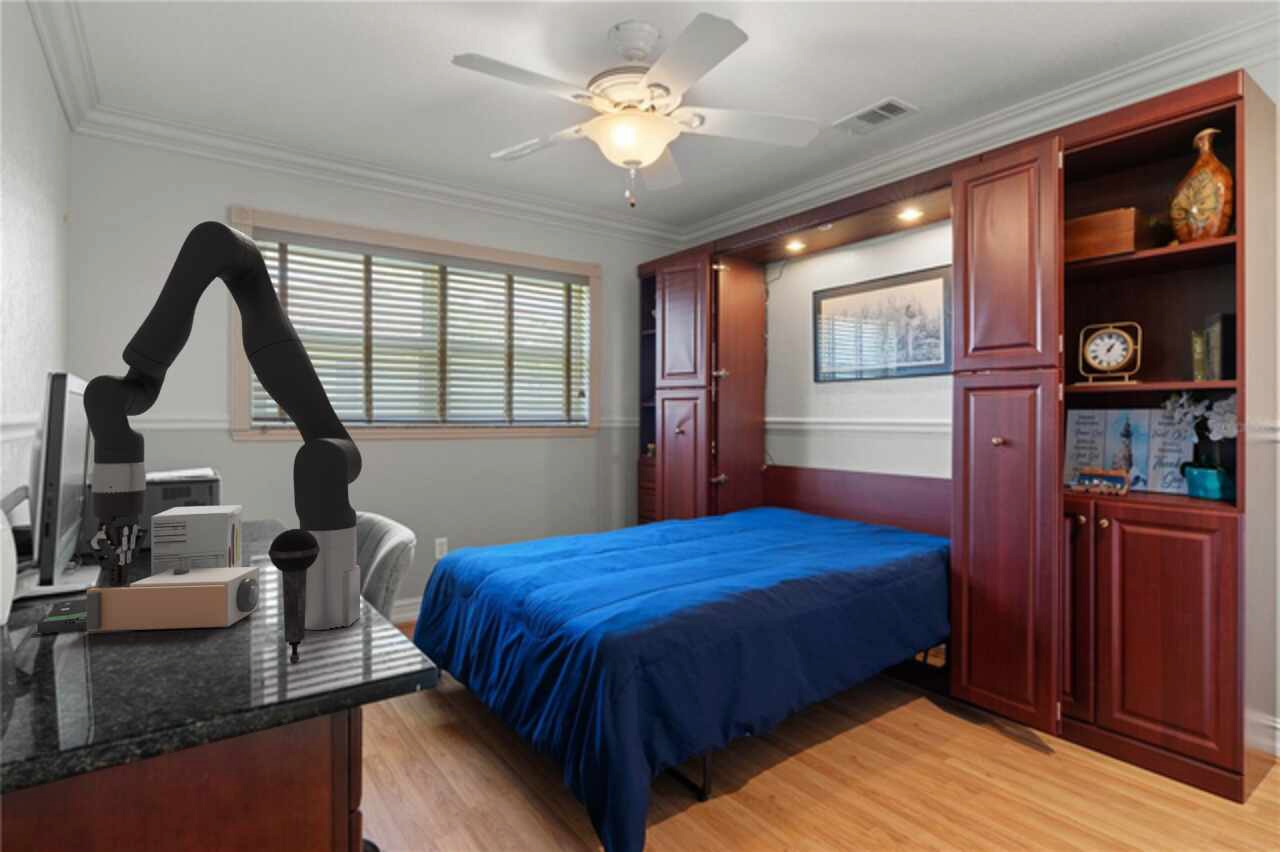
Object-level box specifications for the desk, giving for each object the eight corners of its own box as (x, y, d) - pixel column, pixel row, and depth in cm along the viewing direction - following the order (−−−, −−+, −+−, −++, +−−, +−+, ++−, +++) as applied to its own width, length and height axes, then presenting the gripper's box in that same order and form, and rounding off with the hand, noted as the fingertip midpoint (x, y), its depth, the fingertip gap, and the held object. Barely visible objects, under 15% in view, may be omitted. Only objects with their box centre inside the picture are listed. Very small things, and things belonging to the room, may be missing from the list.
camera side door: (227, 624, 115) (226, 584, 115) (221, 627, 113) (221, 587, 113) (91, 629, 112) (91, 588, 112) (82, 632, 110) (82, 591, 110)
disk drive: (61, 616, 124) (36, 637, 111) (61, 601, 124) (36, 621, 111) (130, 609, 129) (113, 628, 116) (130, 595, 129) (113, 612, 116)
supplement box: (229, 602, 132) (228, 512, 132) (149, 609, 127) (149, 516, 127) (244, 583, 148) (243, 503, 148) (173, 589, 143) (173, 506, 143)
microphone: (284, 674, 93) (284, 534, 93) (258, 665, 97) (258, 530, 97) (329, 659, 99) (329, 527, 99) (303, 651, 102) (303, 524, 102)
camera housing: (269, 607, 127) (269, 562, 127) (238, 626, 116) (238, 576, 116) (171, 610, 125) (171, 564, 125) (129, 630, 113) (129, 579, 113)
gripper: (116, 492, 110) (115, 595, 110) (164, 485, 123) (163, 576, 123) (68, 492, 109) (66, 595, 109) (121, 485, 122) (120, 577, 122)
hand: (118, 585), depth 116 cm, fingers closed
